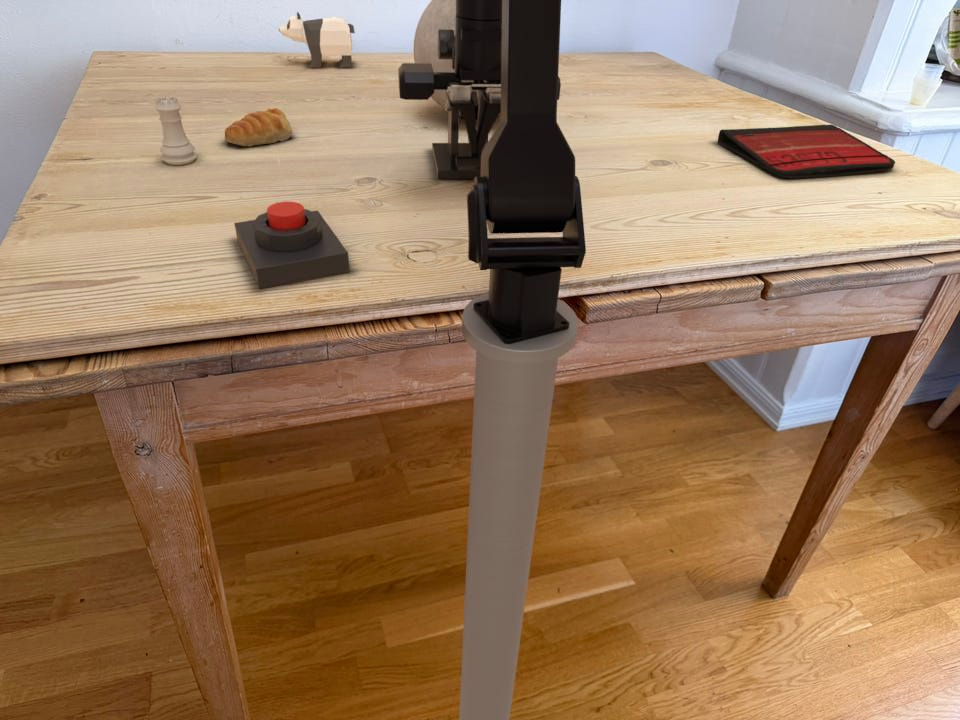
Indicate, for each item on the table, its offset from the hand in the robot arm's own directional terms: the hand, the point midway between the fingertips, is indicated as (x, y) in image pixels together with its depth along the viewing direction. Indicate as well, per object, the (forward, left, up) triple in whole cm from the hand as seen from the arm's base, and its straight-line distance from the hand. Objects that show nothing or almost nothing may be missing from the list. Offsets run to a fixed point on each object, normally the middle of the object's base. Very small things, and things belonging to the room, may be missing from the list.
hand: (475, 153), depth 85 cm
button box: (-10, +26, -5) cm, 28 cm away
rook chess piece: (+23, +33, -5) cm, 41 cm away
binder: (-7, -53, -5) cm, 54 cm away
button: (-10, +26, -1) cm, 28 cm away
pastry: (+28, +21, -5) cm, 36 cm away
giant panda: (+69, 0, -5) cm, 70 cm away
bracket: (+8, -3, -5) cm, 10 cm away
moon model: (+28, -14, -5) cm, 32 cm away
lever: (+5, -2, 0) cm, 5 cm away
